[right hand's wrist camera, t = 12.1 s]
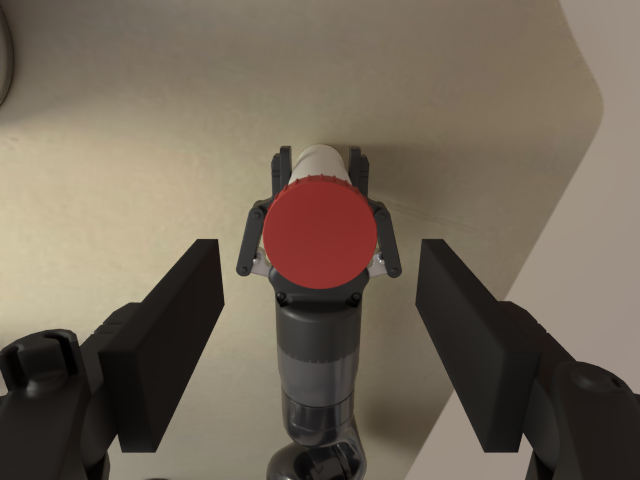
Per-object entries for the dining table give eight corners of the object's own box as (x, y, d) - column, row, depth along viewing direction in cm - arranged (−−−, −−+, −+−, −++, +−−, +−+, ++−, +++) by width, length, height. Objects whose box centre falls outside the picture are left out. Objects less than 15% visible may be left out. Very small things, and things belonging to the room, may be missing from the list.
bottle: (342, 142, 35) (365, 184, 17) (345, 190, 36) (369, 274, 19) (293, 146, 35) (266, 192, 17) (298, 194, 36) (278, 281, 19)
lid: (372, 168, 18) (377, 175, 16) (375, 272, 20) (380, 286, 18) (258, 178, 18) (253, 185, 17) (273, 280, 20) (269, 294, 19)
